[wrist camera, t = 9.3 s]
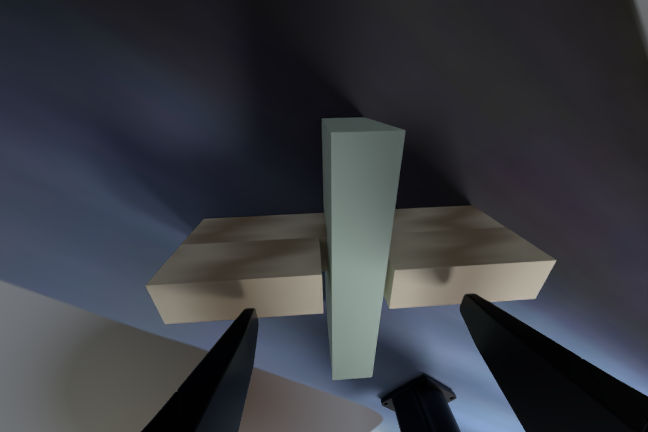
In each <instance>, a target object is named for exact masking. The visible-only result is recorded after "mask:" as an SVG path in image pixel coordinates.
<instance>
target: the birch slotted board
mask: <svg viewBox="0 0 648 432" xmlns="http://www.w3.org/2000/svg"><path fill="white" fill-rule="evenodd" d="M555 262H556V260H555V259H554V258H552V257H551V256H549V255H548V254H546V253H544V252H543V251H541V250H540V249H538V248H537V247H535V246H534V245H532V244H531V243H529V242H528V241H526V240H524V239H523V238H521V237H520V236H518V235H517V234H515V233H514V232H512V231H511V230H509V229H507V228H506V227H504V226H503V225H501V224H500V223H498V222H497V221H495V220H494V219H492V218H491V217H489V216H487V215H486V214H484V213H483V212H481V211H480V210H478V209H477V208H475V207H474V206H472V205H469V206H449V207H429V208H409V209H395V213H394V220H393V227H392V235H391V242H390V249H389V257H388V264H387V271H386V279H385V286H384V297H385V299H386V302H387V304H388V307H389V309H394V308H408V307H423V306H437V305H452V304H461V302H462V299H463V296H464V295H465V294H469V293H475V294H477V295H479V296H480V297H482V298H484V299H485V300H487V301H489V302H496V301H510V300H525V299H535V298H536V297H537V295H538V293H539V291H540V289H541V288H542V286H543V284H544V282H545V280H546V278H547V277H548V275H549V273H550V271H551V269H552V268H553V266H554V264H555ZM322 271H327V229H326V221H325V214H324V213H309V214H289V215H269V216H249V217H229V218H209V219H203V220H202V221H201V223H200V224H199V225H198V226H197V227H196V228H195V229H194V231H193V232H192V233H191V234H190V235H189V236H188V237H187V239H186V240H185V241H184V242H183V243H182V244H181V245H180V247H179V248H178V249H177V250H176V251H175V252H174V253H173V255H172V256H171V257H170V258H169V259H168V260H167V261H166V263H165V264H164V265H163V266H162V267H161V268H160V269H159V270H158V272H157V273H156V274H155V275H154V276H153V277H152V278H151V280H150V281H149V282H148V283H147V284H146V285H145V286H146V288H147V290H148V292H149V294H150V296H151V298H152V300H153V302H154V304H155V306H156V308H157V309H158V311H159V313H160V315H161V317H162V319H163V321H164V323H165V324H175V323H190V322H204V321H219V320H233V319H236V318H237V317H238V316H239V315H240V314H241V312H242V311H243V310H244V309H246V308H255V309H256V313H257V317H258V318H262V317H277V316H292V315H306V314H321V313H323V290H322Z"/></svg>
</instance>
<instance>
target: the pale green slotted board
mask: <svg viewBox="0 0 648 432" xmlns="http://www.w3.org/2000/svg"><path fill="white" fill-rule="evenodd" d="M405 132H406V130H403V129H400V128H397V127H393V126H390V125H387V124H384V123H381V122H378V121H375V120H372V119H368V118H365V117H357V118H322V160H323V205H324V214H325V221H326V229H327V271H325V294H326V311H327V323H328V335H329V347H330V358H331V370H332V380H344V379H357V378H369V377H372V374H373V367H374V360H375V352H376V345H377V338H378V330H379V323H380V316H381V308H382V301H383V294H384V286H385V279H386V271H387V264H388V257H389V249H390V242H391V235H392V227H393V220H394V213H395V205H396V198H397V191H398V183H399V176H400V168H401V161H402V154H403V146H404V139H405Z"/></svg>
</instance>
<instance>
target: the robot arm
mask: <svg viewBox="0 0 648 432" xmlns="http://www.w3.org/2000/svg"><path fill="white" fill-rule="evenodd" d="M460 312H461V315H462V317H463V319H464V321H465V323H466V325H467V328H468V330H469V332H470V334H471V336H472V338H473V340H474V343H475V345H476V347H477V349H478V350H479V352H480V354H481V356H482V357H483V359H484V361H485V363H486V364H487V366H488V368H489V369H490V371H491V373H492V375H493V376H494V378H495V380H496V382H497V383H498V385H499V387H500V388H501V390H502V392H503V394H504V395H505V397H506V399H507V401H508V402H509V404H510V406H511V407H512V409H513V411H514V413H515V414H516V416H517V418H518V419H519V421H520V423H521V425H522V426H523V428H524V430H525V432H648V396H646V395H644V394H642V393H641V392H639V391H637V390H635V389H634V388H632V387H630V386H628V385H627V384H625V383H623V382H621V381H619V380H618V379H616V378H614V377H613V376H611V375H609V374H608V373H606V372H604V371H603V370H601V369H599V368H597V367H596V366H594V365H593V364H591V363H589V362H588V361H586V360H584V359H581V357H579V356H578V355H576V354H574V353H573V352H571V351H569V350H568V349H566V348H564V347H563V346H561V345H559V344H558V343H556V342H555V341H553V340H551V339H550V338H548V337H546V336H545V335H543V334H541V333H540V332H538V331H536V330H535V329H533V328H531V327H530V326H528V325H527V324H525V323H523V322H522V321H520V320H518V319H517V318H515V317H513V316H512V315H510V314H508V313H507V312H505V311H503V310H502V309H500V308H499V307H497V306H495V305H494V304H492V303H490V302H489V301H487V300H485V299H484V298H482V297H480V296H479V295H477V294H475V293H469V294H465V295H464V296H463V299H462V302H461V305H460ZM257 334H258V317H257V313H256V309H255V308H246V309H244V310H243V311H242V312H241V314H240V315H239V316H238V317H237V318H236V320H235V321H234V322H233V323H232V324H231V326H230V327H229V328H228V329H227V330H226V332H225V333H224V334H223V335H222V337H221V338H220V339H219V340H218V341H217V343H216V344H215V345H214V346H213V347H212V349H211V350H210V351H209V352H208V353H207V355H206V356H205V357H204V358H203V359H202V361H201V362H200V363H199V364H198V366H197V367H196V368H195V369H194V370H193V372H192V373H191V374H190V375H189V376H188V378H187V379H186V380H185V381H184V382H183V384H182V385H181V386H180V387H179V388H178V392H175V393H174V394H173V396H172V397H171V398H170V399H169V400H168V402H167V403H166V404H165V405H164V406H163V407H162V409H161V410H160V411H159V412H158V413H157V415H156V416H155V417H154V418H153V419H152V420H151V421H150V422H149V423H148V425H147V426H146V427H145V428H144V429H143V430H142V431H141V432H238V430H239V426H240V421H241V417H242V413H243V409H244V404H245V399H246V395H247V391H248V387H249V383H250V378H251V374H252V370H253V365H254V357H255V349H256V341H257ZM454 399H456V395H455V393H454V392H452V391H451V390H449V389H448V388H446V387H444V386H443V385H441V384H439V383H438V382H436V381H434V380H433V379H431V378H430V377H428V376H421V377H419V378H418V379H416V380H414V381H412V382H411V383H409V384H407V385H405V386H403V387H402V388H400V389H398V390H396V391H395V392H393V393H391V394H389V395H387V396H386V397H384V398H382V399H381V403H382V406H384V407H387V408H389V409H391V410H393V411H395V413H396V417H397V420H398V424H399V428H400V431H401V432H461V431H460V429H459V427H458V424H457V422H456V420H455V418H454V416H453V414H452V411H451V409H450V407H449V405H448V402H450V401H452V400H454Z"/></svg>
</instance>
